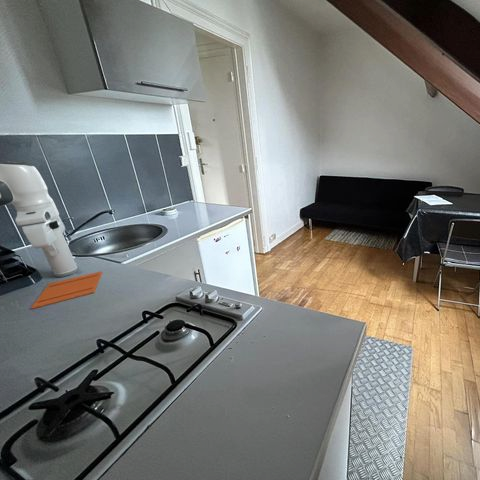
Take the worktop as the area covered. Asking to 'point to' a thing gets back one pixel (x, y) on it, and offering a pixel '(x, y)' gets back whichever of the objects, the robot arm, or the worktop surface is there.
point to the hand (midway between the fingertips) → (58, 251)
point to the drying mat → (68, 289)
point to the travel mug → (60, 254)
